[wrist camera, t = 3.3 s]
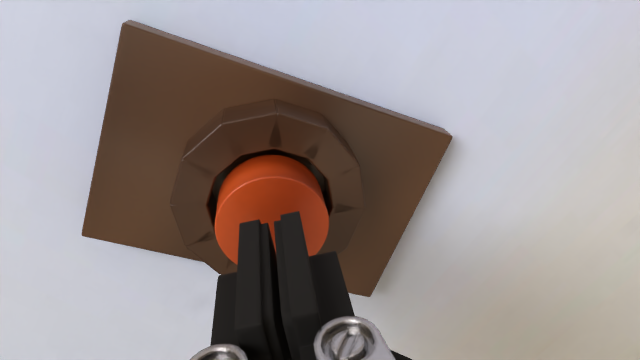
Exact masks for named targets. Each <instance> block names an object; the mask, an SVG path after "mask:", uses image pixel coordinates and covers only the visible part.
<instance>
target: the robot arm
mask: <svg viewBox="0 0 640 360" xmlns="http://www.w3.org/2000/svg"><path fill="white" fill-rule="evenodd" d="M280 217H281V220H279V221H274V232H275V244H276V252H275V248H274V244H273V240H272V236H271V232H270V228H269V224H268V223H264V224H261V222H260V220H259V219H258V220H253V221H248V222H244V223H240V225H239V243H238V264H237V272H233V273H228V274H224V275H220V276H219V277H218V282H217V291H216V300H215V309H214V319H213V328H212V337H211V346H210V347H207V348H205V349H203V350H201V351H200V352H198V353H197V354H196V355H194V356H193V357H192V358H191V359H190V360H412V359H410V358H408V357H405V356H403V355H401V354H399V353H396V352H394V351H392V350H390V349H389V347H388V346H387V344H386V342H385V340H384V339H383V337H382V335H381V333H380V331H379V330H378V329H377V327H376V326H375V325H374V324H373V323H372V322H370V321H368V320H367V319H364V318H361V317H357V316H355V315H354V312H353V308H352V305H351V301H350V298H349V294H348V291H347V287H346V284H345V281H344V277H343V274H342V270H341V267H340V263H339V260H338V256H337V253H336V251H332V252H327V253H322V254H318V255H313V256H309V255H308V250H307V245H306V240H305V235H304V231H303V226H302V221H301V216H300V212H299V211H297V212H292V213H287V214H282V215H280Z"/></svg>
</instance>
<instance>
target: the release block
mask: <svg viewBox="0 0 640 360" xmlns="http://www.w3.org/2000/svg"><path fill="white" fill-rule="evenodd" d="M451 140H452V136H451V135H450V134H449V133H448V132H447V131H446V130H445V129H443V128H440V127H437V126H434V125H431V124H428V123H426V122H423V121H420V120H417V119H414V118H411V117H408V116H405V115H402V114H400V113H397V112H394V111H391V110H388V109H385V108H382V107H379V106H377V105H374V104H371V103H368V102H365V101H362V100H359V99H356V98H354V97H351V96H348V95H345V94H342V93H339V92H336V91H333V90H331V89H328V88H325V87H322V86H319V85H316V84H313V83H310V82H307V81H305V80H302V79H299V78H296V77H293V76H290V75H287V74H284V73H282V72H279V71H276V70H273V69H270V68H267V67H264V66H261V65H259V64H256V63H253V62H250V61H247V60H244V59H241V58H238V57H236V56H233V55H230V54H227V53H224V52H221V51H218V50H215V49H212V48H210V47H207V46H204V45H201V44H198V43H195V42H192V41H189V40H187V39H184V38H181V37H178V36H175V35H172V34H169V33H166V32H164V31H161V30H158V29H155V28H152V27H149V26H146V25H143V24H141V23H138V22H135V21H132V20H128V21H126V22H124V23H123V24H122V27H121V32H120V37H119V43H118V48H117V53H116V58H115V63H114V68H113V74H112V79H111V84H110V89H109V94H108V99H107V105H106V110H105V115H104V120H103V125H102V131H101V136H100V141H99V146H98V151H97V156H96V162H95V167H94V172H93V177H92V182H91V187H90V193H89V198H88V203H87V208H86V213H85V218H84V224H83V229H82V236H85V237H89V238H94V239H99V240H103V241H108V242H113V243H118V244H122V245H127V246H132V247H136V248H141V249H146V250H150V251H155V252H160V253H164V254H169V255H174V256H179V257H183V258H188V259H193V260H197V261H202V262H205V263H206V264H207V265H209V266H210V267H211V268H213V269H214V270H215V271H216V272H218V273H219V274H221V275H224V274H228V273H233V272H237V264H235V263H234V262H232V261H231V260H230V259H229V258H228V257H227V256H226V255H225V254H224V252H223V251H222V249H221V248H220V246H219V244H218V242H217V239H216V235H215V217H216V210H217V202H218V195H219V191H220V188H221V185H222V183H223V181H224V179H225V178H226V176H227V175H228V174H229V173H230V172H231V171H232V170H233V169H234V168H235V167H236V166H238V165H239V164H240V163H242V162H244V161H246V160H248V159H251V158H254V157H257V156H263V155H281V156H285V157H289V158H292V159H294V160H296V161H298V162H300V163H302V164H303V165H304V166H306V167H307V168H308V169H309V170H310V171H311V172H312V173H313V174H314V176H315V177H316V179H317V181H318V183H319V186H320V189H321V192H322V195H323V198H324V201H325V205H326V208H327V211H328V215H329V230H328V235H327V237H326V240H325V242H324V244H323V246H322V247H321V249H320V250H319V252H318V253H317V254H316V255H318V254H322V253H327V252H332V251H336V253H337V256H338V260H339V263H340V267H341V270H342V274H343V277H344V281H345V284H346V287H347V291H348V293H352V294H357V295H362V296H366V297H370V296H371V294H372V292H373V290H374V288H375V287H376V285H377V283H378V281H379V279H380V277H381V275H382V273H383V271H384V269H385V267H386V265H387V263H388V261H389V259H390V258H391V256H392V254H393V252H394V250H395V248H396V246H397V244H398V242H399V240H400V238H401V236H402V234H403V232H404V230H405V229H406V227H407V225H408V223H409V221H410V219H411V217H412V215H413V213H414V211H415V209H416V207H417V205H418V203H419V201H420V200H421V198H422V196H423V194H424V192H425V190H426V188H427V186H428V184H429V182H430V180H431V178H432V176H433V174H434V172H435V171H436V169H437V167H438V165H439V163H440V161H441V159H442V157H443V155H444V153H445V151H446V149H447V147H448V145H449V143H450V142H451Z"/></svg>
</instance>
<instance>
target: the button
mask: <svg viewBox="0 0 640 360" xmlns="http://www.w3.org/2000/svg"><path fill="white" fill-rule="evenodd" d="M297 211H299V212H300V216H301V221H302V226H303V231H304V235H305V240H306V245H307V250H308V255H309V256H313V255H316V254H317V253H318V252H319V250H320V249H321V247H322V246H323V244H324V242H325V240H326V237H327V235H328V230H329V215H328V211H327V208H326V205H325V201H324V198H323V195H322V192H321V189H320V186H319V183H318V181H317V179H316V177H315V176H314V174H313V173H312V172H311V171H310V170H309V169H308V168H307V167H306V166H304V165H303V164H302V163H300V162H298V161H296V160H294V159H292V158H289V157H285V156H281V155H263V156H257V157H254V158H251V159H248V160H246V161H244V162H242V163H240V164H239V165H238V166H236V167H235V168H234V169H233V170H232V171H231V172H230V173H229V174H228V175H227V176H226V178H225V179H224V181H223V183H222V185H221V188H220V191H219V195H218V202H217V210H216V217H215V235H216V239H217V242H218V244H219V246H220V248H221V249H222V251H223V252H224V254H225V255H226V256H227V257H228V258H229V259H230V260H231V261H232V262H234V263H235V264H238V243H239V225H240V223H244V222H248V221H253V220H258V219H259V220H260V222H261V224H264V223H268V224H269V228H270V232H271V236H272V240H273V244H274V248H275V252H276V244H275V232H274V221H279V220H281V217H280V215H282V214H287V213H292V212H297Z"/></svg>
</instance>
